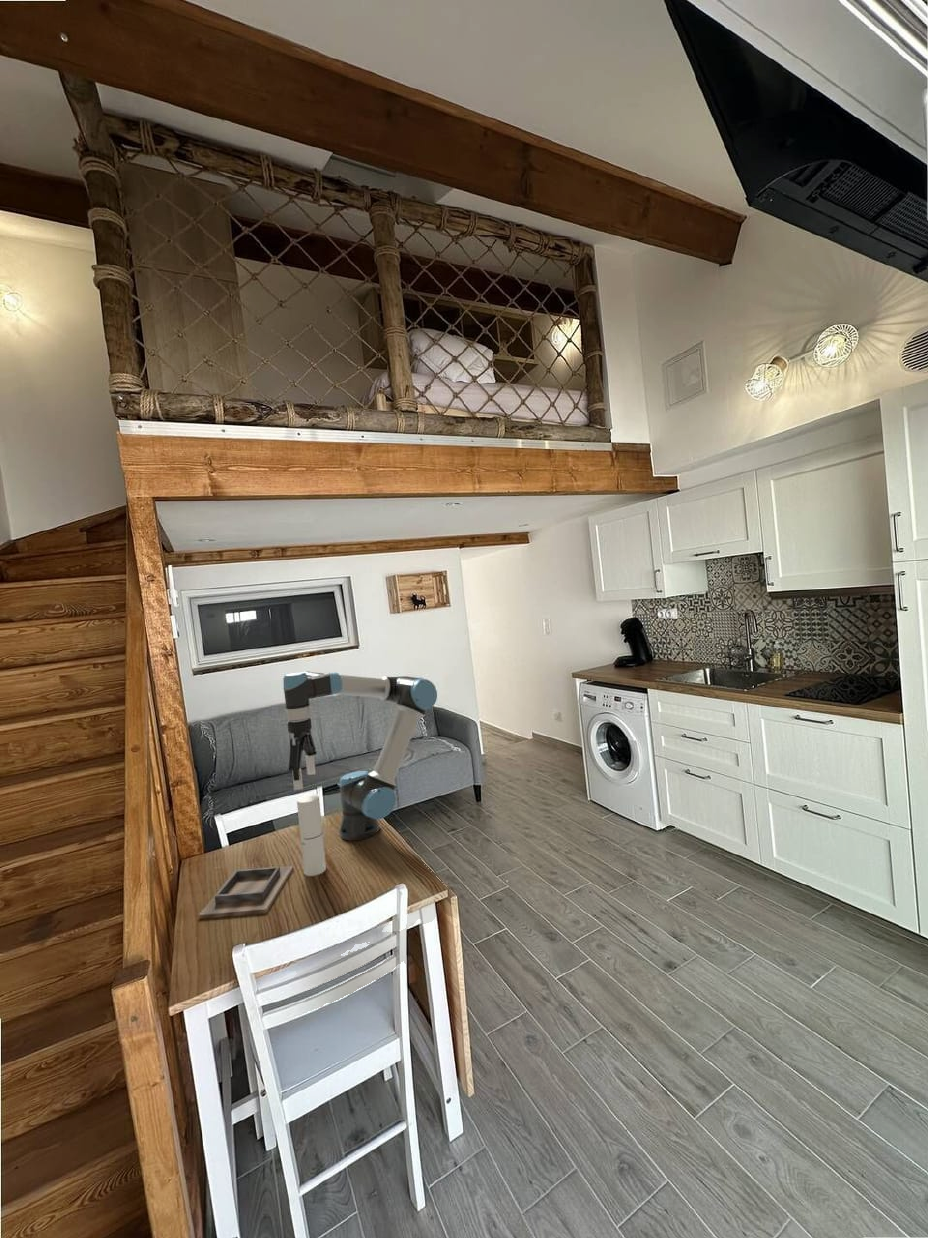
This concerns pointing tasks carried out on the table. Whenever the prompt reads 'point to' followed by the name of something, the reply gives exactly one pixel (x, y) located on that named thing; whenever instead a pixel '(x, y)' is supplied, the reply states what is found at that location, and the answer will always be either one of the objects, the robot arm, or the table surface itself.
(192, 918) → the table surface
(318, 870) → the cylindrical container
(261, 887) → the board
